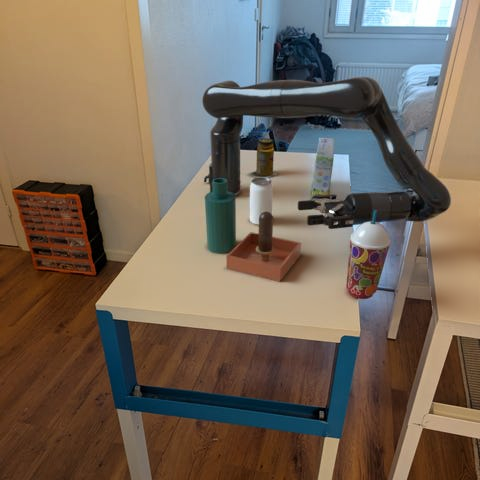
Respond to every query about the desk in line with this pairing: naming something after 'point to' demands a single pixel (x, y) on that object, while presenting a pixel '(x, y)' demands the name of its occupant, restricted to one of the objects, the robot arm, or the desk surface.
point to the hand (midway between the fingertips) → (302, 212)
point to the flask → (220, 218)
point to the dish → (250, 260)
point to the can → (260, 198)
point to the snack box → (323, 167)
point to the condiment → (264, 159)
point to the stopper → (265, 236)
